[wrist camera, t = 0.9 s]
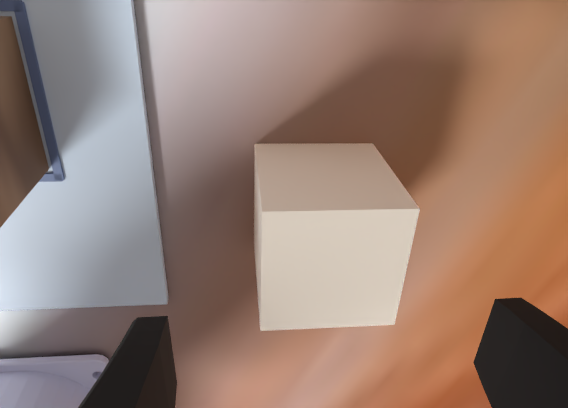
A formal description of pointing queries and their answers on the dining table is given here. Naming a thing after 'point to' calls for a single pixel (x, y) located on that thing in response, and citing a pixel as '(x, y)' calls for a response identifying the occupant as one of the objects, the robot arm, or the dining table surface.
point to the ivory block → (329, 236)
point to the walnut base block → (16, 127)
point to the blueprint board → (84, 164)
